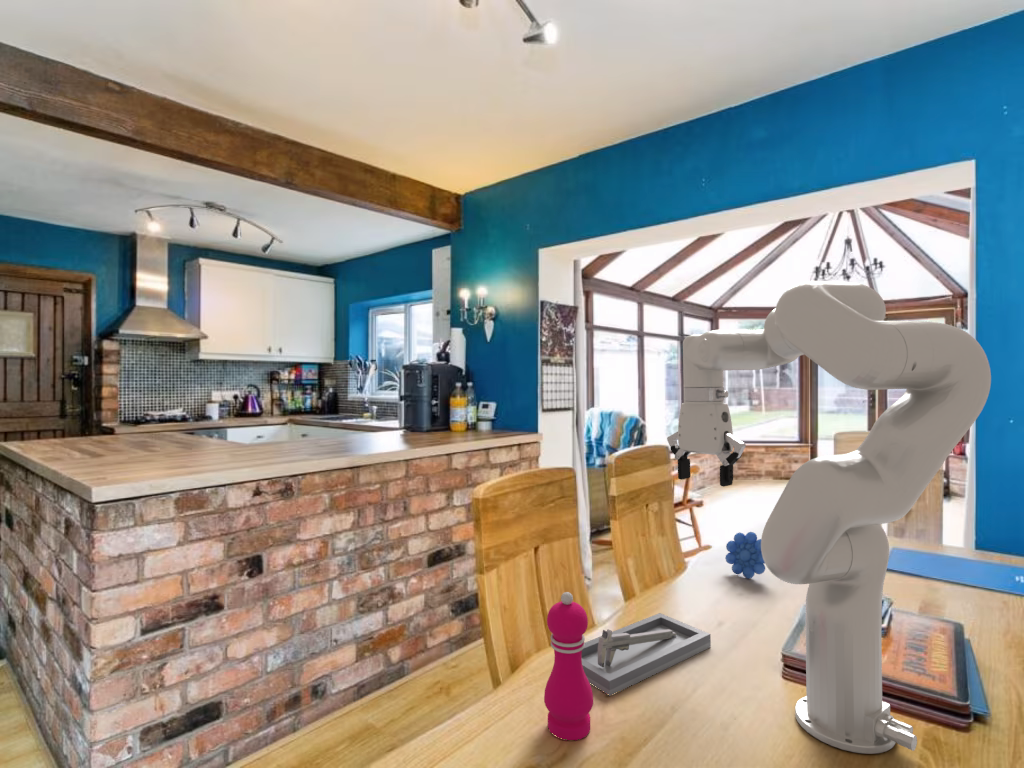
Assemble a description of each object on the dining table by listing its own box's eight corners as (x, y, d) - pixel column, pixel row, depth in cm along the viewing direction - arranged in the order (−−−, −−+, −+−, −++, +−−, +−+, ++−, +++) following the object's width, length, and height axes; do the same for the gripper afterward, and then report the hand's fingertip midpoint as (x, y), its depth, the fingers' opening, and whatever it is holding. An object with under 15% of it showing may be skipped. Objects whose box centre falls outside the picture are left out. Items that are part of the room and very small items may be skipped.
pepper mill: (589, 712, 85) (587, 582, 85) (598, 742, 78) (595, 601, 78) (542, 713, 85) (540, 584, 85) (547, 744, 78) (544, 603, 78)
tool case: (710, 647, 105) (710, 634, 105) (609, 696, 89) (609, 681, 89) (660, 624, 115) (659, 612, 115) (561, 666, 99) (560, 652, 99)
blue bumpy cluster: (778, 580, 139) (777, 532, 139) (765, 586, 135) (764, 537, 134) (734, 568, 148) (734, 523, 148) (721, 574, 144) (720, 528, 144)
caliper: (602, 670, 96) (601, 634, 96) (597, 667, 97) (597, 631, 97) (677, 636, 108) (676, 604, 108) (672, 634, 109) (672, 602, 109)
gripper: (754, 396, 106) (755, 485, 106) (679, 395, 120) (680, 474, 120) (731, 397, 101) (732, 491, 102) (656, 396, 116) (657, 478, 116)
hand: (704, 481), depth 111 cm, fingers open, 9 cm apart
